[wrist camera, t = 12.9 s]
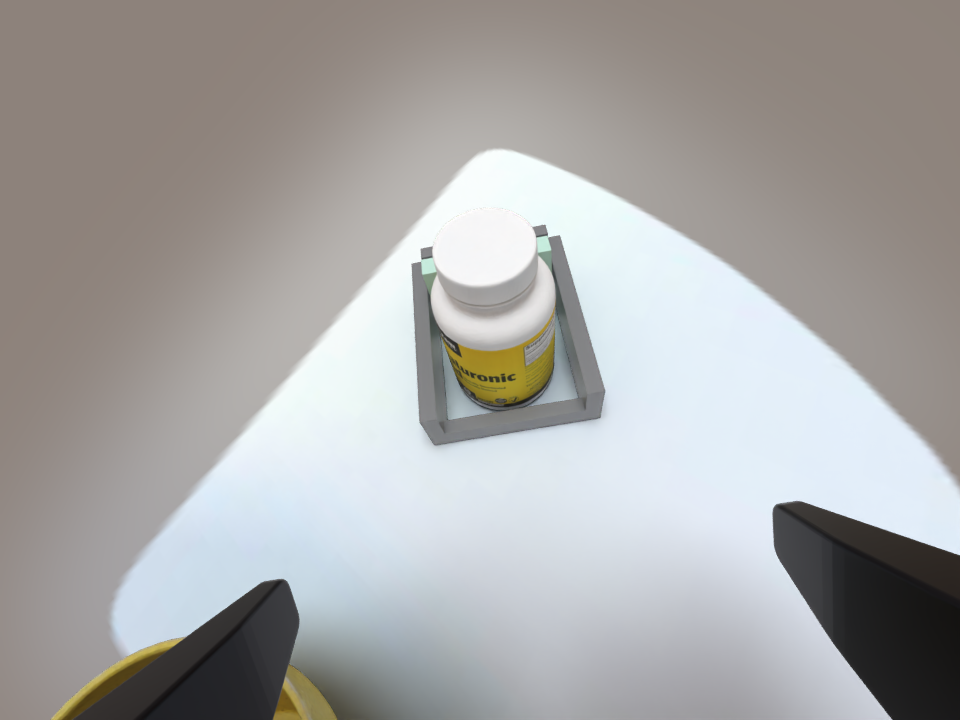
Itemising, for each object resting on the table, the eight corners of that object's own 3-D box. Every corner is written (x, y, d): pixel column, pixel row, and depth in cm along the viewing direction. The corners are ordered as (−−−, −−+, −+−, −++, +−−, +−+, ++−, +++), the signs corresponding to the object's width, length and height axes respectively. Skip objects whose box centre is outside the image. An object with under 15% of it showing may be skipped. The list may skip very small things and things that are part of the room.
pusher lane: (600, 417, 23) (607, 380, 20) (434, 445, 24) (413, 413, 21) (559, 271, 29) (559, 222, 25) (424, 296, 29) (406, 251, 26)
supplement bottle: (437, 382, 26) (384, 262, 17) (493, 314, 28) (469, 176, 19) (517, 433, 24) (501, 324, 15) (573, 356, 26) (585, 221, 17)
